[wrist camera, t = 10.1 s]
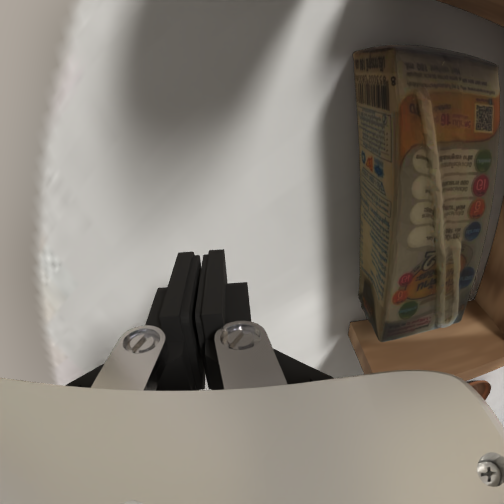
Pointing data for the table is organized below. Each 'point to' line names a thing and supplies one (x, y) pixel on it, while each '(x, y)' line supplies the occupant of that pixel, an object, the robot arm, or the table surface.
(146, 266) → the table surface
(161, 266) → the table surface
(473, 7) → the frame
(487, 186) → the beverage carton
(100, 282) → the table surface
